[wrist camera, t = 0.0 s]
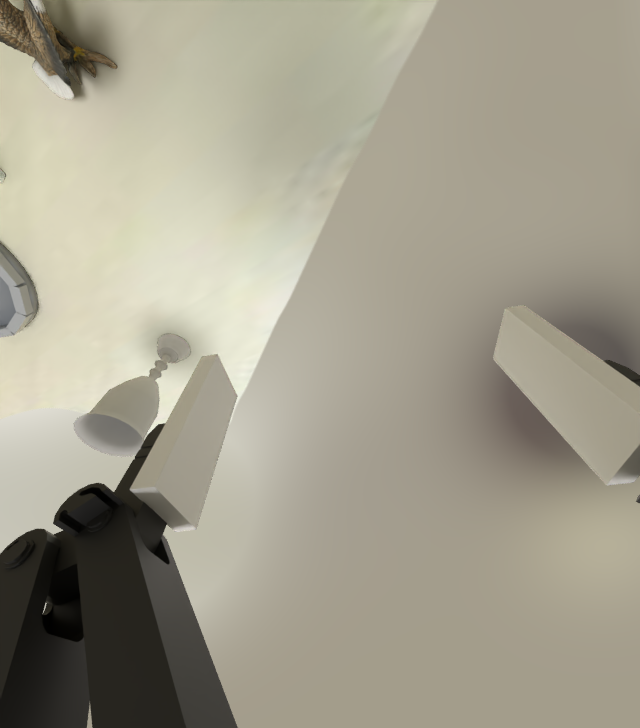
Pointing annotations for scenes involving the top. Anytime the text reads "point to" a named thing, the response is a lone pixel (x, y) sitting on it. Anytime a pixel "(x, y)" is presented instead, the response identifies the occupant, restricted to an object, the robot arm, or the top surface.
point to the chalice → (129, 406)
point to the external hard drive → (2, 176)
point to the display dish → (15, 295)
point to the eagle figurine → (45, 45)
